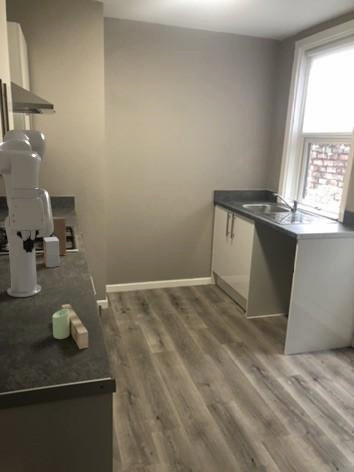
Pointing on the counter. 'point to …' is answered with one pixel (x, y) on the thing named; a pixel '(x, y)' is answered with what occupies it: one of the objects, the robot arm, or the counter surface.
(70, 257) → the counter surface
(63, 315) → the candle
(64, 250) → the decorative block
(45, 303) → the counter surface
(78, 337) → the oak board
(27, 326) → the counter surface
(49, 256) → the small box
